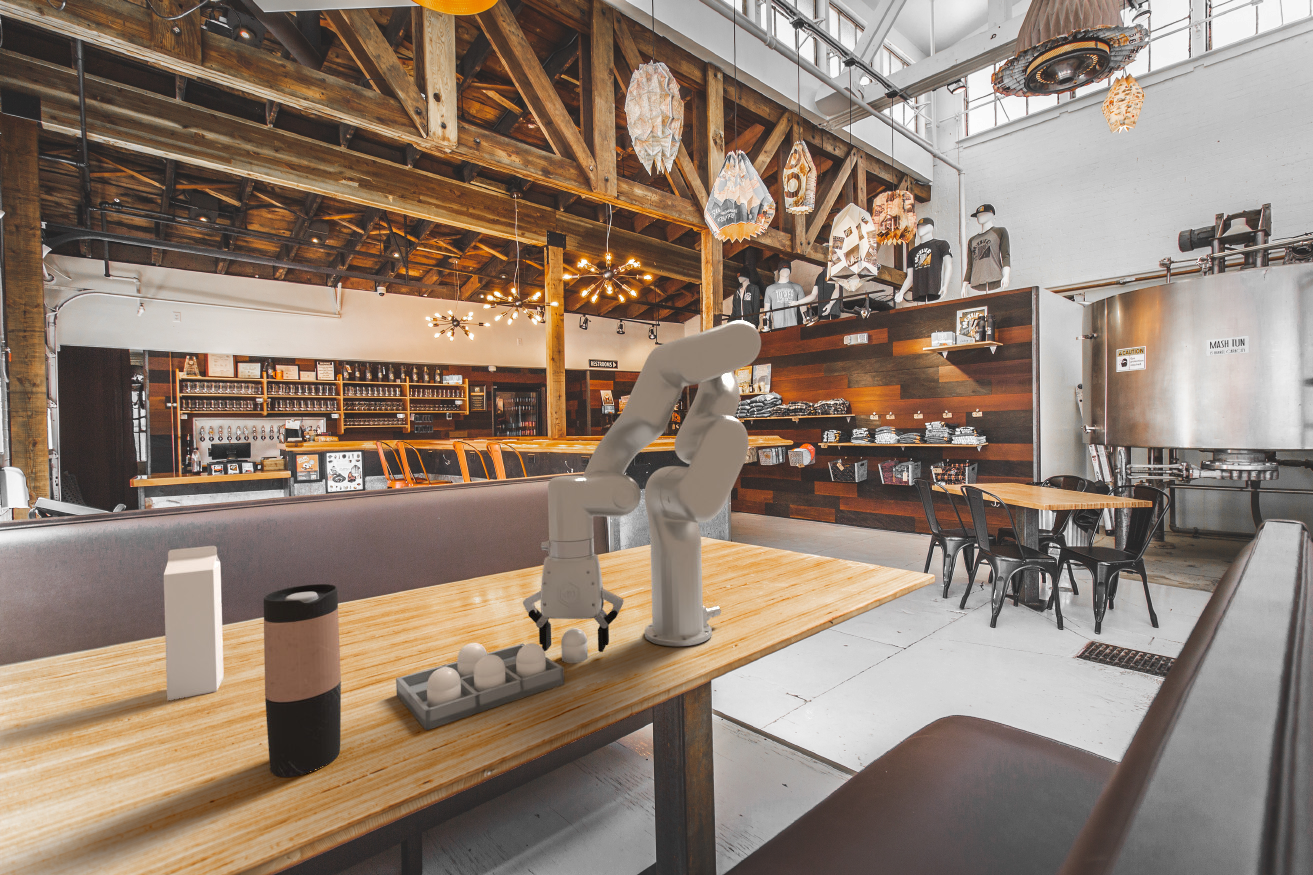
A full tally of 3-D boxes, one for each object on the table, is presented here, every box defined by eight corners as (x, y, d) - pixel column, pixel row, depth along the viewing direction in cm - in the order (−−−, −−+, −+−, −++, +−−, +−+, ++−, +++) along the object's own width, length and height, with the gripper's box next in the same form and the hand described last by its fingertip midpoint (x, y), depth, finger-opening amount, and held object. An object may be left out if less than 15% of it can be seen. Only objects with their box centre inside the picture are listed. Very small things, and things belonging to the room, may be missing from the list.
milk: (217, 691, 87) (213, 548, 87) (166, 701, 84) (162, 553, 84) (224, 677, 92) (220, 542, 92) (176, 686, 90) (172, 546, 89)
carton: (523, 657, 97) (522, 623, 97) (564, 683, 86) (562, 644, 86) (396, 694, 84) (395, 654, 84) (426, 730, 74) (424, 684, 74)
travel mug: (290, 744, 71) (285, 585, 71) (354, 740, 72) (349, 582, 72) (252, 781, 63) (247, 602, 63) (323, 776, 64) (318, 599, 64)
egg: (579, 651, 100) (578, 622, 100) (592, 658, 96) (591, 628, 96) (557, 657, 97) (556, 628, 97) (570, 665, 94) (569, 635, 94)
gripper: (514, 553, 94) (517, 656, 94) (618, 552, 92) (620, 658, 92) (529, 544, 101) (532, 640, 101) (625, 543, 100) (627, 641, 100)
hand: (574, 648), depth 97 cm, fingers open, 9 cm apart
